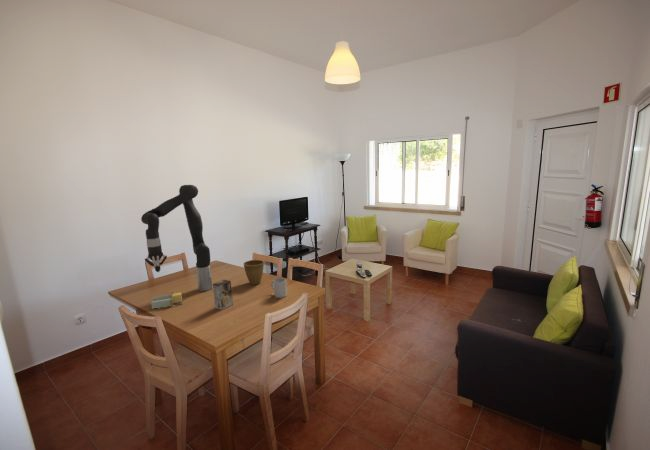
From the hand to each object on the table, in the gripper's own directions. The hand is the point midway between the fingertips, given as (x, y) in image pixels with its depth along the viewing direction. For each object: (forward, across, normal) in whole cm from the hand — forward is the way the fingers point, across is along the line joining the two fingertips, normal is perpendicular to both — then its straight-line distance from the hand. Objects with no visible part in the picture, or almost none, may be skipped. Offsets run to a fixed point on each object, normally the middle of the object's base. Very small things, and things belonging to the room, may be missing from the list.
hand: (158, 271), depth 198 cm
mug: (+24, -72, +16) cm, 78 cm away
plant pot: (+24, -61, -13) cm, 67 cm away
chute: (+23, -2, 0) cm, 23 cm away
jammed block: (+23, -8, 0) cm, 24 cm away
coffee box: (+24, -36, +19) cm, 47 cm away
